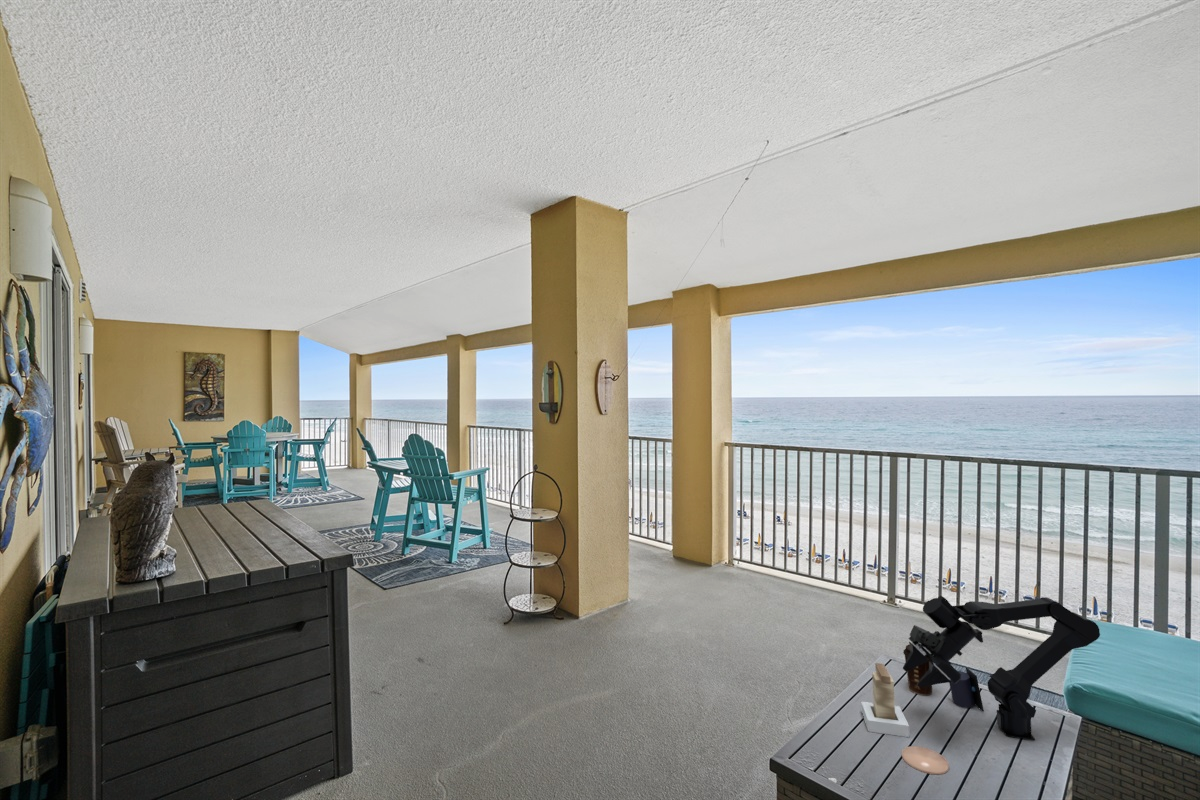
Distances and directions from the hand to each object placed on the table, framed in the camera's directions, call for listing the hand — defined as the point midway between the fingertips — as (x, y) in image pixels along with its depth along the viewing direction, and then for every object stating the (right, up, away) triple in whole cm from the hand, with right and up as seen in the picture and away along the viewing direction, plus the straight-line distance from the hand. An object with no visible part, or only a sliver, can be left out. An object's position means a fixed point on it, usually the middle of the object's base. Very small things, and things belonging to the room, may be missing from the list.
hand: (911, 677), depth 147 cm
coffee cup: (+14, -14, +18) cm, 27 cm away
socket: (-7, -13, +1) cm, 15 cm away
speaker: (+22, -13, +10) cm, 27 cm away
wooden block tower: (-7, -13, +1) cm, 15 cm away
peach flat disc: (-6, -13, -15) cm, 21 cm away
